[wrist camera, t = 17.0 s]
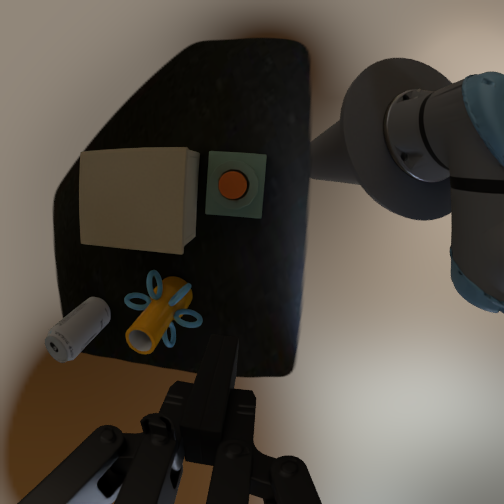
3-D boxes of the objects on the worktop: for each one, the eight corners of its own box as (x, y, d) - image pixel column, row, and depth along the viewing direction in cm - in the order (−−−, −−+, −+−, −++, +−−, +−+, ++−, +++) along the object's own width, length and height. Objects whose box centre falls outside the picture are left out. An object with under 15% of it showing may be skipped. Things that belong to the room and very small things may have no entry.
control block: (266, 155, 39) (266, 153, 35) (261, 216, 41) (260, 220, 38) (211, 152, 39) (206, 150, 36) (207, 212, 41) (202, 215, 38)
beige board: (188, 147, 30) (186, 147, 30) (183, 252, 34) (181, 254, 33) (83, 152, 31) (80, 151, 30) (83, 242, 35) (80, 243, 34)
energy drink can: (102, 327, 49) (62, 370, 34) (83, 304, 48) (38, 342, 33) (118, 313, 47) (76, 357, 33) (97, 288, 46) (49, 326, 32)
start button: (248, 172, 37) (247, 172, 35) (246, 199, 38) (245, 200, 36) (221, 170, 37) (219, 170, 35) (219, 197, 38) (217, 198, 36)
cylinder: (177, 245, 43) (136, 279, 29) (223, 293, 45) (203, 345, 30) (133, 290, 46) (88, 333, 31) (174, 332, 47) (144, 386, 33)
